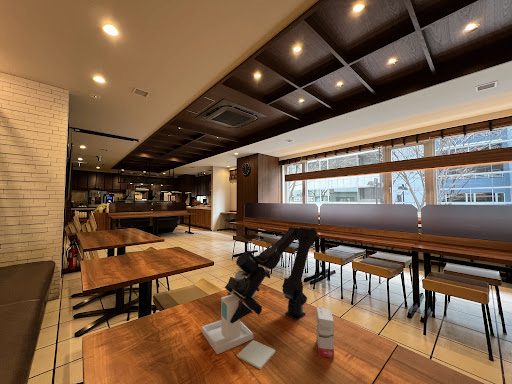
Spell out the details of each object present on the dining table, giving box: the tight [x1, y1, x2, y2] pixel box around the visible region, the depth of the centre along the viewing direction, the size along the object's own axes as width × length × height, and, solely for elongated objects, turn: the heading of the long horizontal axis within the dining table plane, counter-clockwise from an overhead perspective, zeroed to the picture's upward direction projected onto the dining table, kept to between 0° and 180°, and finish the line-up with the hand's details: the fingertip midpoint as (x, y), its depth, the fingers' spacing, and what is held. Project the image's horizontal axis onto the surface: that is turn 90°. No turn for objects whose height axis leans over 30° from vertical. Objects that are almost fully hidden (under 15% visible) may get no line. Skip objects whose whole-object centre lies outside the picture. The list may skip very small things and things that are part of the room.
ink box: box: [316, 306, 335, 359], centre depth 73 cm, size 9×5×12 cm, turn 168°
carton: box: [220, 294, 241, 342], centre depth 76 cm, size 5×5×13 cm
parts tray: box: [201, 319, 254, 355], centre depth 78 cm, size 14×14×2 cm
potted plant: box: [234, 266, 257, 299], centre depth 112 cm, size 13×14×20 cm
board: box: [236, 339, 276, 370], centre depth 69 cm, size 9×9×1 cm
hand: (227, 319), depth 75 cm, fingers closed on carton, 5 cm apart
